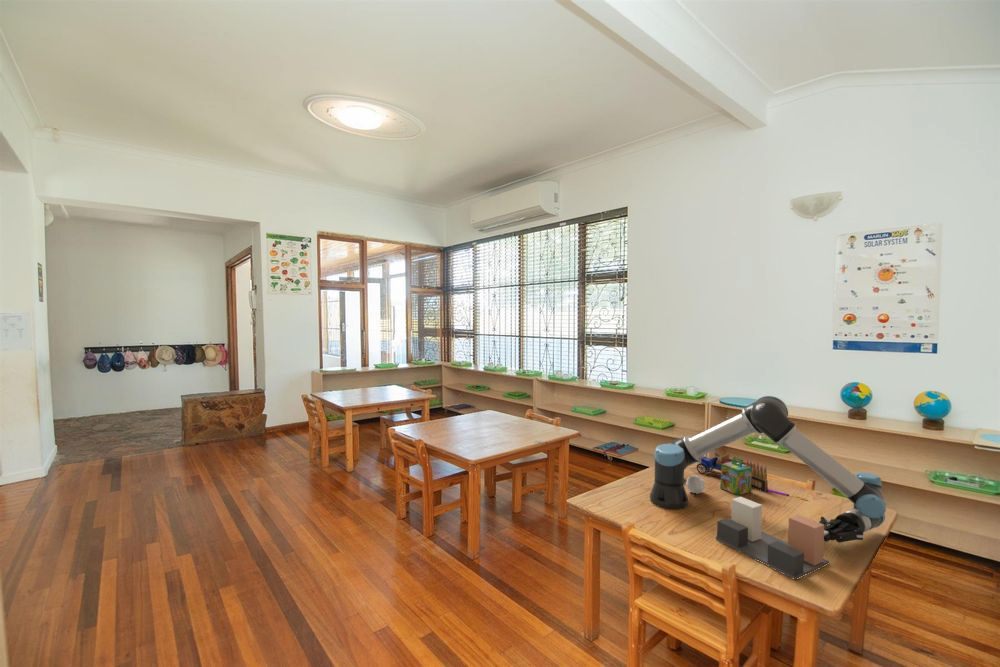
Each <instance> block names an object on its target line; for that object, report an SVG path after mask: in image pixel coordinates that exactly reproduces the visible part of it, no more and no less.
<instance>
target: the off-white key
mask: <svg viewBox="0 0 1000 667" xmlns="http://www.w3.org/2000/svg"><path fill="white" fill-rule="evenodd" d="M730 512H731V514H730V516H731V517H730V520H733V521H735V522H737V523H739V524H741V525H744V526H746V527H748V540H749V541H752V542H753V541H756V540H758V539H761V531H762V526H763V525H762V522H763V521H762V520H763V519H762V518H763V504H761V503H758V502H755V501H754V500H752V499H751V500H750V499H748V498H745V497H743V496H737V497H735V498H732V499H731V510H730Z"/></svg>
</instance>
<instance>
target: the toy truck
mask: <svg viewBox="0 0 1000 667" xmlns="http://www.w3.org/2000/svg"><path fill="white" fill-rule="evenodd" d="M732 461H733V458H732V459H731V458H730V453H727V454H725V455H722V456H721V459H720V455H718V453H717V452H715V453H714V457H712V458H710V457H707V456H704V455H703V456H702V458H701V460H700V461H698V462H697V463H698V464H696V471H697V472H698V473H699V474H701V473H702V475H705V474H707V473H709V472H712V473H716V474H718V475H721V464H724V463H730V462H732ZM735 462H738V463H740V462H739V461H738V460H736V461H735ZM742 464H744V465H746V462H744V461H743V463H742ZM752 467H753V463H752ZM719 471H720V472H719Z"/></svg>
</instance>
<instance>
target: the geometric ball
mask: <svg viewBox="0 0 1000 667" xmlns="http://www.w3.org/2000/svg"><path fill="white" fill-rule="evenodd" d="M685 486H686V488H687V490H688V491H689V492H691V493H693V494H695V493H696V495H698V494H699V495H700V494H701V493H703V492H704V490H705V489H706V482H705V480H704V479H703V478H702V477H700V476H699V475H695V474H693V475H690V476H689V477H688V478H687V479H686V483H685Z"/></svg>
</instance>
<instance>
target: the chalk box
mask: <svg viewBox="0 0 1000 667" xmlns="http://www.w3.org/2000/svg"><path fill="white" fill-rule="evenodd" d="M732 460H733V461H732V462H730V463H724V464H721V471H720V473H721V474H720V484H719V485H720V489H722V490H724V491H726V492H728V493H730V494H733V495H735V494H736V495H735V496H737V495H738V496H741V495H745V493H746V494H749V493H751V492H752V487H751V480H752V468H751V467H749V466H746V465H744V464H742V463H743V462H744V460H743V459H742V458H739V457H736V456H733V457H732ZM735 461H739V462H740V463H738V462H735Z"/></svg>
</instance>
